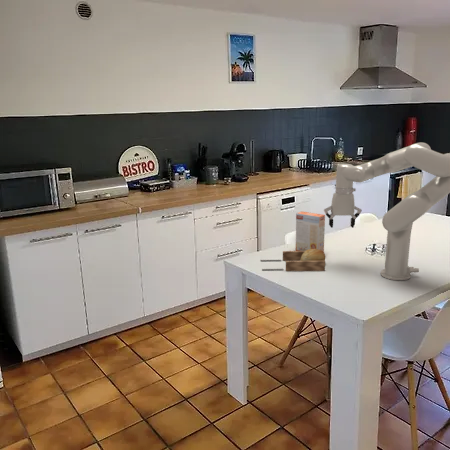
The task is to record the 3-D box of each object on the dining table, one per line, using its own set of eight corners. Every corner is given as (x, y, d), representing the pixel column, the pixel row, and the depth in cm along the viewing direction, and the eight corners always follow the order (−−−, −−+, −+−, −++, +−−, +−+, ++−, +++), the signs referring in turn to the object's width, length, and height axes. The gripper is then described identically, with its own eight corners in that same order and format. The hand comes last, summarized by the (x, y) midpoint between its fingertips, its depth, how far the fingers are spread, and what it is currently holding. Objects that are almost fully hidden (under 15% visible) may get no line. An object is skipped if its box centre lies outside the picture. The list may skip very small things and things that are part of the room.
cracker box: (324, 253, 232) (325, 214, 227) (318, 256, 228) (319, 216, 222) (301, 248, 241) (302, 210, 236) (295, 251, 237) (295, 212, 232)
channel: (318, 259, 224) (319, 250, 222) (324, 270, 208) (325, 261, 207) (282, 259, 224) (282, 251, 223) (285, 271, 209) (286, 261, 208)
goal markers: (280, 260, 223) (280, 259, 223) (283, 270, 210) (283, 269, 210) (260, 260, 224) (260, 259, 224) (262, 270, 210) (262, 269, 210)
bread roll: (330, 263, 218) (331, 248, 216) (312, 271, 208) (312, 255, 206) (314, 259, 224) (315, 243, 222) (295, 266, 215) (296, 250, 213)
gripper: (360, 189, 210) (358, 224, 214) (323, 189, 210) (321, 224, 214) (365, 192, 202) (362, 229, 207) (326, 192, 203) (324, 229, 207)
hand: (341, 226), depth 211 cm, fingers open, 9 cm apart
